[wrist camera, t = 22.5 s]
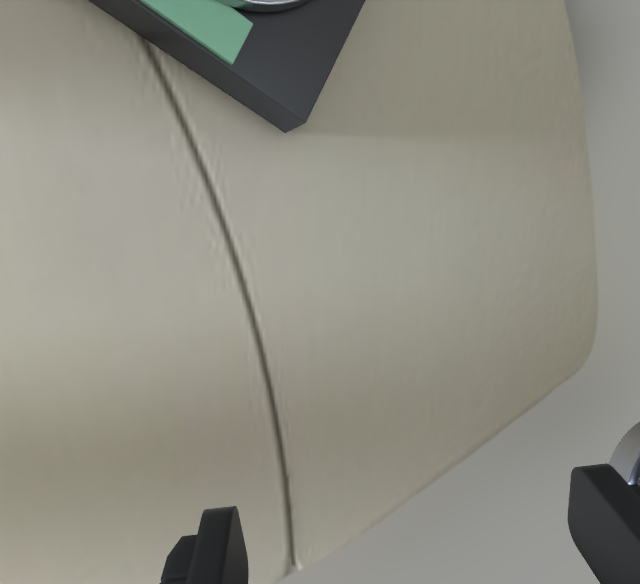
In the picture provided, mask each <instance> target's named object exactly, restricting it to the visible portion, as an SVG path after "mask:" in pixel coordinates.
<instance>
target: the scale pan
mask: <svg viewBox="0 0 640 584" xmlns="http://www.w3.org/2000/svg"><path fill="white" fill-rule="evenodd" d="M216 1H218V2H221V3H224V4H226V5H229V6H232V7H235V8H240V9H244V10H248V11H259V12H272V11H282V10H286V9H290V8H294V7H296V6H299V5H301V4H304V3H306V2H307V1H309V0H216Z"/></svg>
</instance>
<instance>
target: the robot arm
mask: <svg viewBox="0 0 640 584" xmlns="http://www.w3.org/2000/svg"><path fill="white" fill-rule="evenodd" d="M568 524H569V529H570V533H571V536H572V538H573V541H574V542H575V545H576V546H577V548H578V550H579V551H580V553H581V554H582V556H583V557H584V559H585V560H586V562H587V563H588V565H589V567H590V568H591V570H592V571H593V573H594V574H595V576H596V577H597V579H598V580H599V582H600V584H640V476H639V478H638V482H637V484H634V485H629V484H628V483H627V482H626V481H625V480H624V479H623V477H622V476H621V475H620V474H619V473H618V472H617V471H616V470H615V469H614V468H613V467H612V466H611V465H609V464H599V465H591V466H582V467H575V468H574V469H573V470H572V473H571V483H570V495H569V507H568ZM160 584H248V558H247V552H246V547H245V542H244V537H243V532H242V528H241V523H240V518H239V513H238V509H237V507H236V506H232V507H223V508H215V509H206V510H204V511H203V514H202V518H201V522H200V526H199V530H198V534H197V535H191V536H182V537H181V539H180V540H179V541H178V543H177V544H176V545H175V547H174V548H173V550H172V551H171V552H170V554H169V555H168V556H167V560H166V563H165V567H164V570H163V573H162V577H161V583H160Z"/></svg>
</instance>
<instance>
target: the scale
mask: <svg viewBox="0 0 640 584" xmlns="http://www.w3.org/2000/svg"><path fill="white" fill-rule="evenodd" d="M89 1H91V2H92V3H94V4H95V5H97V6H98V7H100V8H101V9H103V10H104V11H106V12H107V13H109V14H110V15H112V16H113V17H115V18H116V19H118V20H119V21H121V22H122V23H124V24H125V25H127V26H128V27H129V28H131V29H132V30H134V31H135V32H137V33H138V34H140V35H141V36H143V37H144V38H146V39H147V40H149V41H150V42H152V43H153V44H155V45H156V46H158V47H159V48H161V49H162V50H164V51H165V52H167V53H168V54H170V55H171V56H173V57H174V58H175V59H177V60H178V61H180V62H181V63H183V64H184V65H186V66H187V67H189V68H190V69H192V70H193V71H195V72H196V73H198V74H199V75H201V76H202V77H204V78H205V79H207V80H208V81H210V82H211V83H213V84H214V85H216V86H217V87H219V88H220V89H222V90H223V91H224V92H226V93H227V94H229V95H230V96H232V97H233V98H235V99H236V100H238V101H239V102H241V103H242V104H244V105H245V106H247V107H248V108H250V109H251V110H253V111H254V112H256V113H257V114H259V115H260V116H262V117H263V118H265V119H266V120H268V121H269V122H270V123H272V124H273V125H275V126H276V127H278V128H279V129H281V130H282V131H284V132H285V133H286V132H288V131H290V130H292V129H294V128H296V127H298V126H300V125H302V124H304V123H305V122H306V121H307V119H308V117H309V115H310V113H311V110H312V108H313V106H314V104H315V102H316V100H317V98H318V96H319V94H320V92H321V90H322V88H323V86H324V84H325V82H326V80H327V78H328V76H329V74H330V72H331V69H332V67H333V65H334V63H335V61H336V59H337V57H338V55H339V53H340V51H341V49H342V47H343V45H344V43H345V41H346V39H347V37H348V35H349V33H350V30H351V28H352V26H353V24H354V22H355V20H356V18H357V16H358V14H359V12H360V10H361V8H362V6H363V4H364V2H365V0H309V1H307V2H306V3H304V4H301V5H299V6H296V7H294V8H290V9H286V10H282V11H272V12H259V11H248V10H244V9H240V8H235V7H232V6H229V5H226V4H224V3H221V2H218V1H216V0H89Z"/></svg>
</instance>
